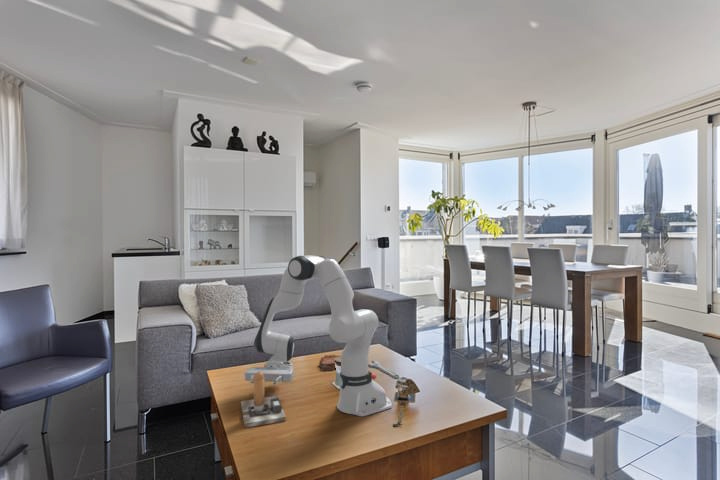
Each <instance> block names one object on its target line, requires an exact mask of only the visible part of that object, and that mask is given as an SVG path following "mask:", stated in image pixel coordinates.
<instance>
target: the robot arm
mask: <svg viewBox="0 0 720 480" xmlns="http://www.w3.org/2000/svg"><path fill="white" fill-rule="evenodd" d="M316 280H318V281H319V283H320V285H321V288H322V290H323V292H324V294H325V296H326V299H327V301H328V303H329V307H330V312H331V313H330V314H331V318H330V319H331V320H330V323H329V324H328V333H329V336H330V338H331V339H332V341H334V342H336V343H340V344H341V343H346V344H345V346H344V348H343V349H342V351H341V354H340V357H341V369H340V373H339V386H340V387H339V388H340V389H339V397H338V402H337V405H336V407H337V409H338V410H339V411H340V412H342V413H345V414H348V415H354V416H357V417H366V416H369V415H371V414H376V413H379V412H383V411H385V410H386V411H387V410H389V409H391V408H392V407H393V403H392V401H391V400H390V398H389V397H388V396H387V393H386V391H385V389H384V387H382V385H380V384H379V383H377V381H374V380H377V375H376V374H375V373H374V372H373V373H372V372H371V371H370V370H369V366H368V362H369V353H370V347H371V343H372V338H373V336H374V333H375V331H376V330H377V329H378V327H379V317H378V315H377V313H376V312H374V311H373V310H372V309H364V308H363V309H358V310H354V306H353V299H354V297H355V293H354V290H353V288H352V286H351V284H350V282H349V280H348V278H347V276H346V273H345V272H344V270H343V269H342V267H341V265H339V263H338V261H336V259H332V258H327V257H324V256H322V255H312V254H309V255H298V256H294V257H292V258H291V259H290V260H289V261H288V265H287V267H286V268H285V270H284V272H283V274H282V278H281V281H280V286H279V290H278V293H277V295H276V296H275V297H272V298H271V299H270V301H269V302H268V304H267V306H266V309H265V312H264V314H263V317H262V321H261V323H260V326H259V329H258V331H257V334H256V335H255V337H254V339H253V340H254V341H253V347H254V348H255V350H256V351H257V353H262V354H269V355H270V354H271V355H272V356H271V357H270V359H268V360H267V361H266V363H265V364H264V365H263V366H253V367H250V368H248V369H247V370H245V372H244V380H245V381H246V382H247V381H249V382H250V384H254V375H255V373H257V372H262V373H263V374H264V382H270V383H272V382H273V385H278V384H279V383H290V382H292V381H293V379H294V364H293V362H291V360H292V358H293V356H294V354H295V351H296V341H295V340H294V337H293V336H292V335H289V334H285V333H280V332H273V331H271V330H270V328H271V325H272V323H273V320H274V316H275V314H278V313H280V312H285V311H286V312H287V311H291V310H294V309H296V308H298V306H300V304H301V303H302V301H303V297H304V294H305V287H306V283H307V282H308V281H316Z"/></svg>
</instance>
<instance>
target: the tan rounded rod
mask: <svg viewBox="0 0 720 480" xmlns="http://www.w3.org/2000/svg"><path fill="white" fill-rule="evenodd" d="M264 398H265V381H264V374H263V373H262V372H257V373H255V375H254V383H253V399H254V412H255V413H261V412H263V411H264Z"/></svg>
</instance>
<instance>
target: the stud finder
mask: <svg viewBox="0 0 720 480" xmlns="http://www.w3.org/2000/svg"><path fill="white" fill-rule="evenodd" d="M280 401H281V400H280V398H279V397H278V398H277V399H271V408H272V411H273V413H276V412H281V406H282V403H281V402H280Z"/></svg>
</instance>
